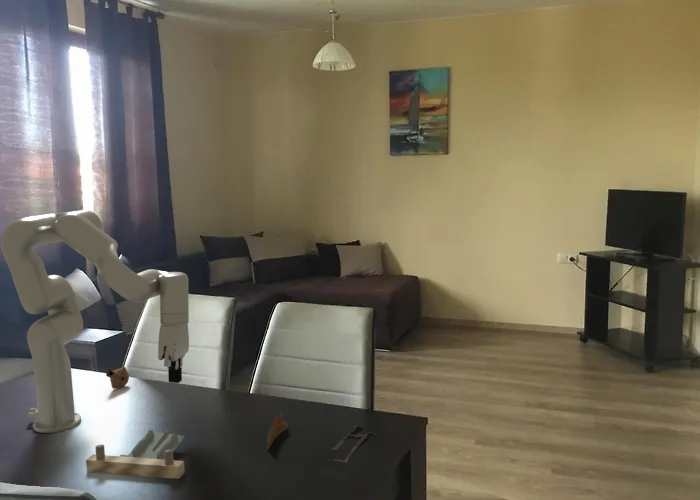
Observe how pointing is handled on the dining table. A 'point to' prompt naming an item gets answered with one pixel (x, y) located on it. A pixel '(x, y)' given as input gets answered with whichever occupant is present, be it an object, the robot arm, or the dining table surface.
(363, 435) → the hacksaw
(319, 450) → the dining table surface
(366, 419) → the dining table surface
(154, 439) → the metal bracket
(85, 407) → the dining table surface
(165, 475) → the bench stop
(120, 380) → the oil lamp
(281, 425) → the wood plank
